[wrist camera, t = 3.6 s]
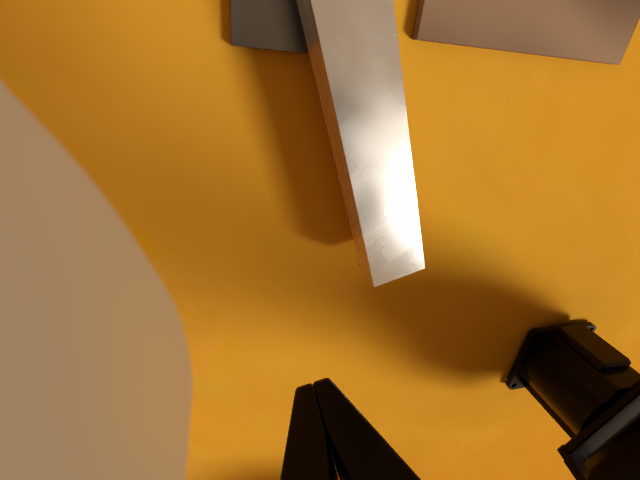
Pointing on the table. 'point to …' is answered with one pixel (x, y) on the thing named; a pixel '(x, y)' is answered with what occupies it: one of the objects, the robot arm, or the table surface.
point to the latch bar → (367, 129)
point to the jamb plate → (267, 25)
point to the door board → (533, 26)
